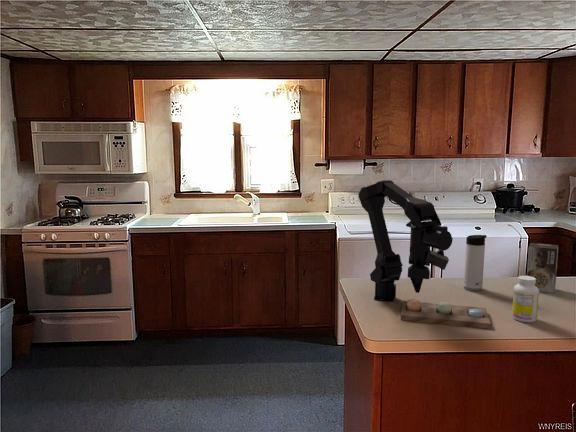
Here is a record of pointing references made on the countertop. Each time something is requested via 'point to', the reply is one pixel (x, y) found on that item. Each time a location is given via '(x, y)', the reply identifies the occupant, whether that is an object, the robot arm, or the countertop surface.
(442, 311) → the sage button
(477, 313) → the slate button
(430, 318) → the button panel
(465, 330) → the countertop surface
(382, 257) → the robot arm
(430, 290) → the countertop surface
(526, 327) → the countertop surface
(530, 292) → the supplement bottle
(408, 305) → the terracotta button
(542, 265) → the coffee box
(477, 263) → the travel mug
